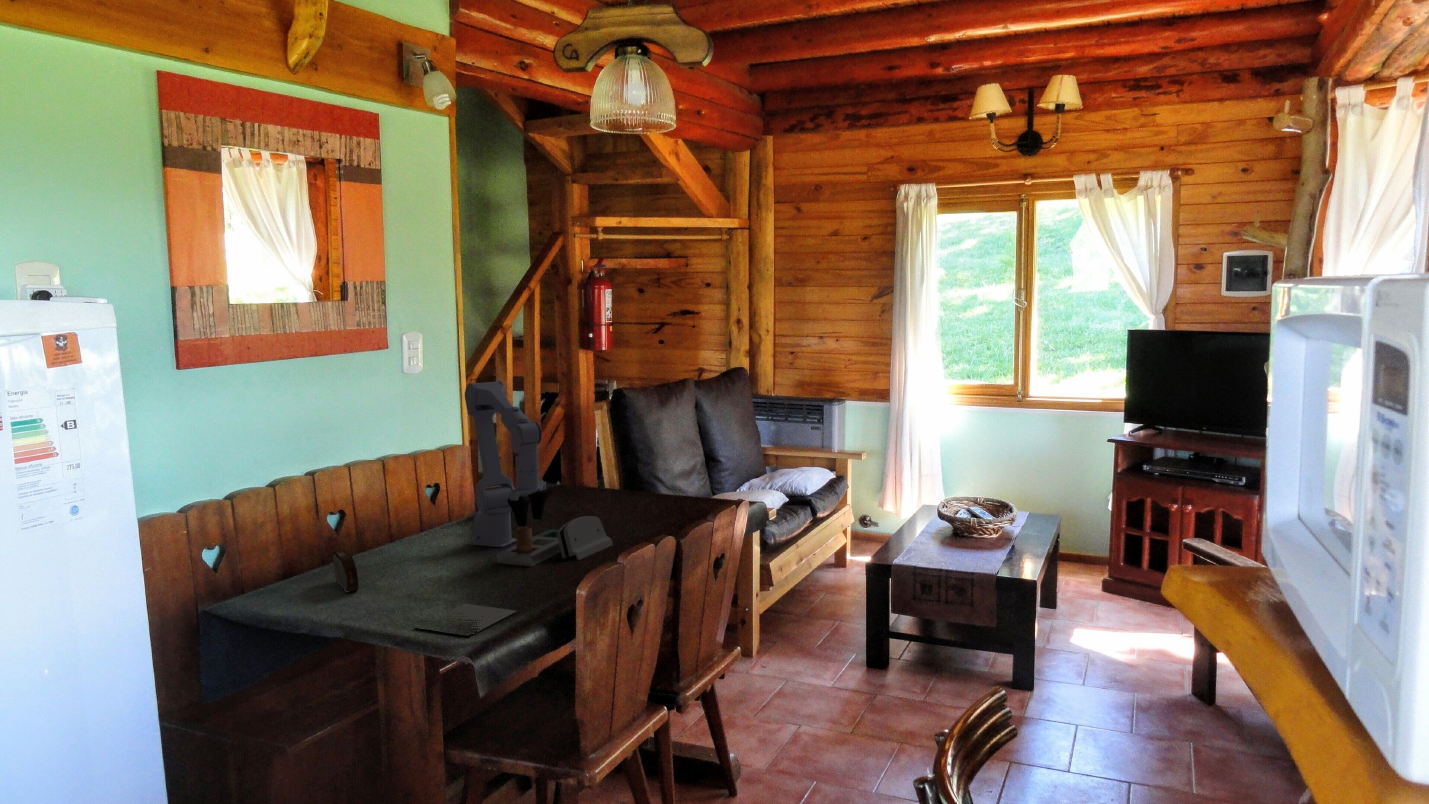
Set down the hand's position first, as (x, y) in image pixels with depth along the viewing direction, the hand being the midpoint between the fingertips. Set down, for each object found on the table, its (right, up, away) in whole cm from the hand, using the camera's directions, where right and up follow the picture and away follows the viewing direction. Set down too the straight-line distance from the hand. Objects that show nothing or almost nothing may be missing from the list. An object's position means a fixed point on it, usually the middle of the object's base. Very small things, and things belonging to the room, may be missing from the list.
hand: (529, 522), depth 250 cm
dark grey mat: (-7, -15, -40) cm, 43 cm away
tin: (-39, -13, -20) cm, 46 cm away
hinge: (+13, -9, +8) cm, 17 cm away
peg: (-1, -10, 0) cm, 10 cm away
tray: (+2, -9, +8) cm, 12 cm away
